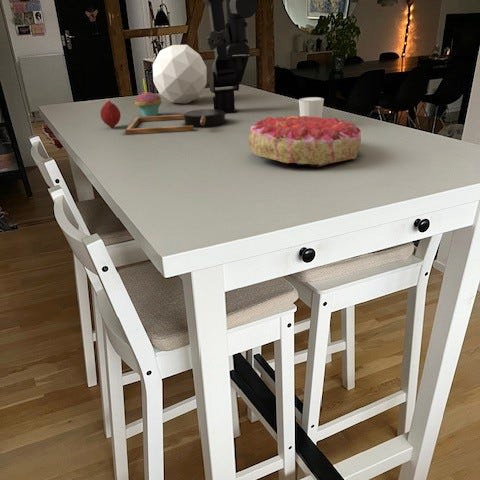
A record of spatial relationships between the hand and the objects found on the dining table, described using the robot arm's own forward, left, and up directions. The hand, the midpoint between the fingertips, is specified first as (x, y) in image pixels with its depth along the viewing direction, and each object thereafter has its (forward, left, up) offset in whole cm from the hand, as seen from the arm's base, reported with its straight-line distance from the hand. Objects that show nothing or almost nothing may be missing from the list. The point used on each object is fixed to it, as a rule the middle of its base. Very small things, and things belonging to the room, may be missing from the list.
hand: (239, 80), depth 149 cm
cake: (-13, +44, -11) cm, 47 cm away
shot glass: (-19, +12, -11) cm, 25 cm away
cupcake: (+30, -18, -11) cm, 37 cm away
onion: (+39, -1, -11) cm, 40 cm away
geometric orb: (+21, -42, -11) cm, 48 cm away
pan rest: (+24, 0, -11) cm, 26 cm away
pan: (+11, +4, -11) cm, 16 cm away
